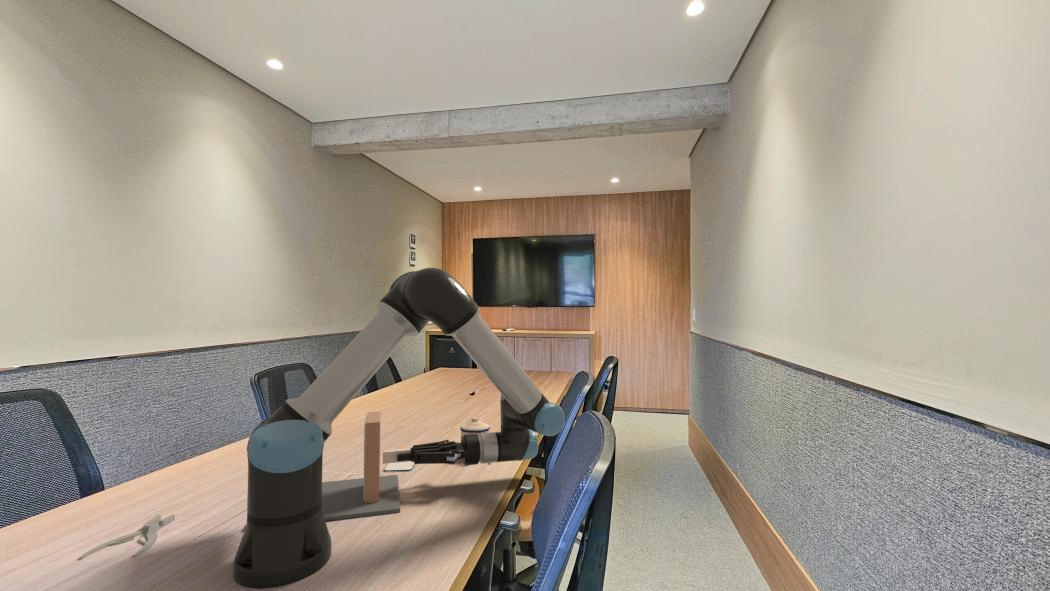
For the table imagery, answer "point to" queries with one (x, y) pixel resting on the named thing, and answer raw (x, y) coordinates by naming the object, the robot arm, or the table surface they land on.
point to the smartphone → (399, 466)
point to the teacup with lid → (474, 427)
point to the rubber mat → (358, 498)
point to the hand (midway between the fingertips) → (382, 457)
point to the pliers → (149, 527)
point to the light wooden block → (372, 457)
